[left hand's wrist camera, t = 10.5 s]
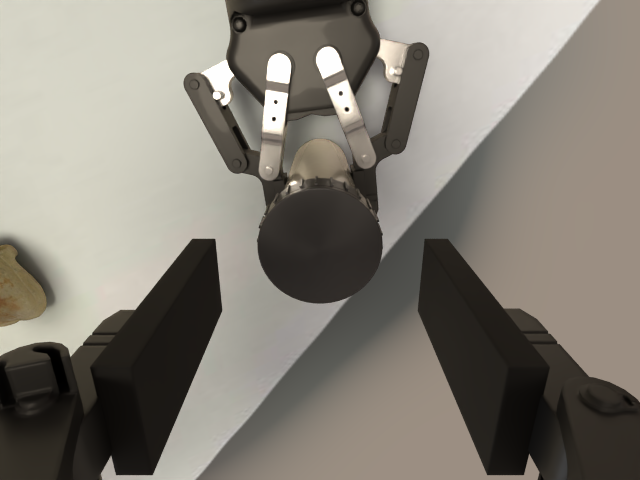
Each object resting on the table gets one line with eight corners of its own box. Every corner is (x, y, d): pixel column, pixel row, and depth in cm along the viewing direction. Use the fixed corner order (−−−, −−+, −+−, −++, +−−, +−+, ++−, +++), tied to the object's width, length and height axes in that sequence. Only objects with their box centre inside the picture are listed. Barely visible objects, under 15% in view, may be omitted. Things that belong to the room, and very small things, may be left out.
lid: (385, 275, 19) (391, 294, 17) (275, 293, 19) (270, 313, 17) (370, 165, 17) (376, 175, 15) (249, 187, 17) (241, 198, 16)
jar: (350, 187, 33) (377, 282, 17) (299, 196, 33) (280, 297, 18) (342, 133, 31) (363, 186, 16) (288, 143, 31) (258, 205, 16)
